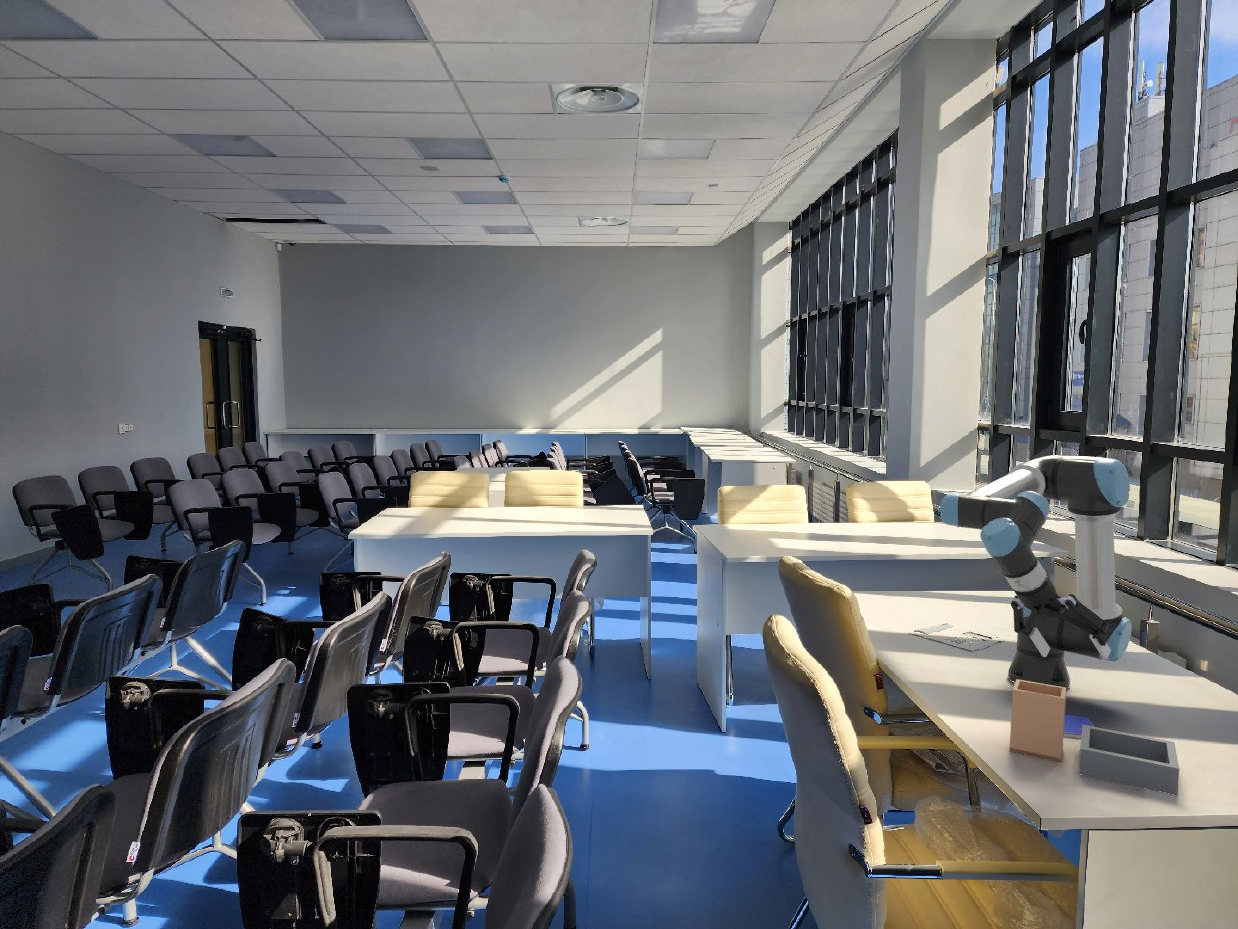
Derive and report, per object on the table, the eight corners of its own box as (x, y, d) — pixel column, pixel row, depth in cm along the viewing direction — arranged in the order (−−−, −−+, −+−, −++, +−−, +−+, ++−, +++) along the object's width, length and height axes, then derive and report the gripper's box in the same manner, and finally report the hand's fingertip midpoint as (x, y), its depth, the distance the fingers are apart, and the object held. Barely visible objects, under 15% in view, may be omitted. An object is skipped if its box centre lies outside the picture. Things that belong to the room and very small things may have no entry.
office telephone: (908, 628, 272) (944, 619, 283) (908, 635, 272) (944, 627, 283) (972, 645, 253) (1008, 635, 264) (972, 653, 253) (1008, 643, 264)
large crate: (1081, 748, 183) (1082, 724, 182) (1172, 767, 174) (1174, 742, 174) (1078, 774, 170) (1080, 748, 169) (1177, 795, 161) (1179, 768, 161)
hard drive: (1103, 736, 187) (1087, 717, 199) (1063, 732, 189) (1050, 713, 201) (1102, 743, 187) (1087, 723, 199) (1063, 739, 189) (1050, 719, 201)
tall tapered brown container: (1013, 738, 188) (1016, 679, 186) (1062, 749, 182) (1066, 687, 181) (1009, 751, 181) (1012, 689, 180) (1060, 762, 176) (1064, 698, 174)
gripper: (971, 595, 185) (1017, 663, 190) (1081, 592, 164) (1129, 668, 169) (985, 573, 189) (1029, 640, 193) (1093, 567, 168) (1140, 642, 173)
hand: (1076, 654), depth 181 cm, fingers open, 13 cm apart
